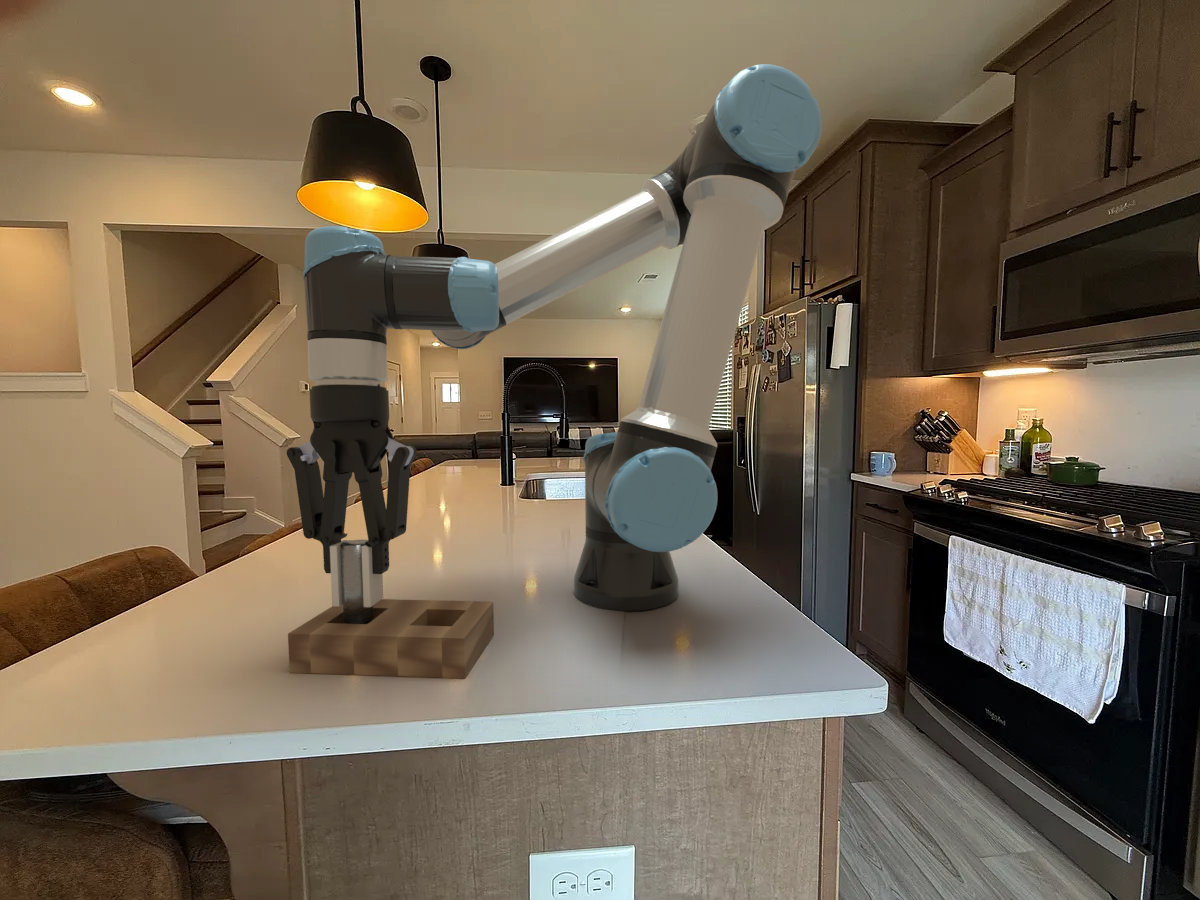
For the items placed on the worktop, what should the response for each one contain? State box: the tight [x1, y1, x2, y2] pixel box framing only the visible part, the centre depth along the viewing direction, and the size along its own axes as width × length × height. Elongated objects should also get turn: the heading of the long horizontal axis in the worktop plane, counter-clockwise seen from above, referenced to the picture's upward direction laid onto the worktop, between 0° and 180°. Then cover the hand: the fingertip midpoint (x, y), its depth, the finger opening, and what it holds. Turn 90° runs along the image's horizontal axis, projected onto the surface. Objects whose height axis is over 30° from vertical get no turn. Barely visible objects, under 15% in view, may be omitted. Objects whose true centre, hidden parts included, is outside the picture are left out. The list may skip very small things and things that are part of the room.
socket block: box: [287, 598, 495, 679], centre depth 56 cm, size 18×10×4 cm, turn 86°
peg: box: [341, 539, 374, 624], centre depth 56 cm, size 3×3×10 cm
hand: (358, 601), depth 56 cm, fingers closed on peg, 3 cm apart
